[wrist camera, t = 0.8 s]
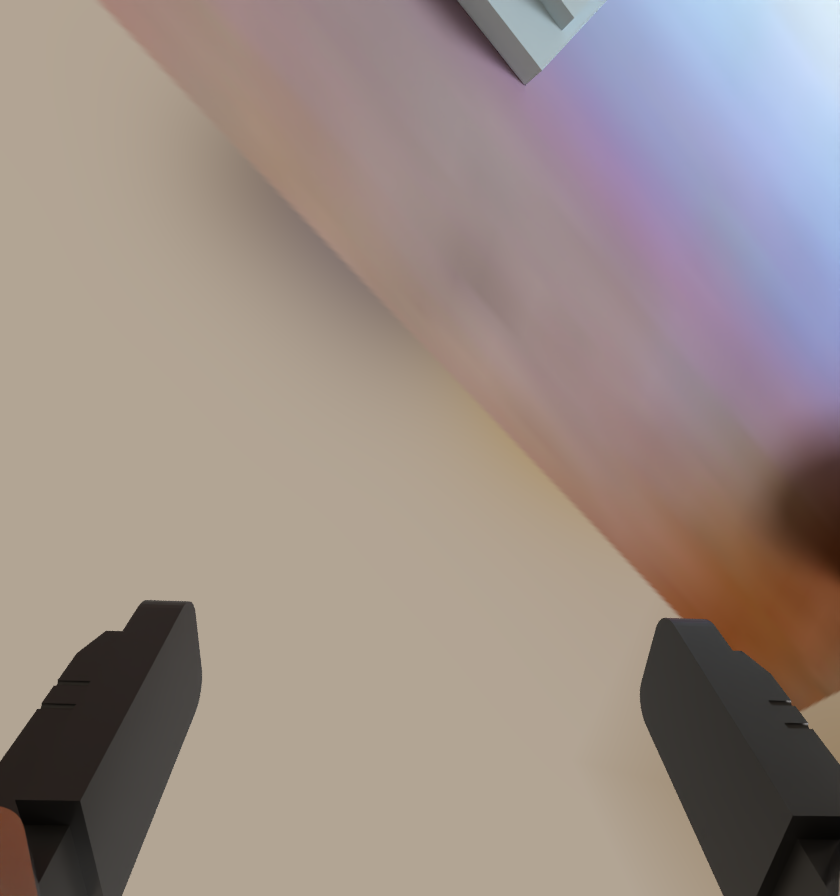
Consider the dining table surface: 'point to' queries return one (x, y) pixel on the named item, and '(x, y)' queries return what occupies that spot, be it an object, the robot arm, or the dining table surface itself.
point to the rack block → (530, 28)
